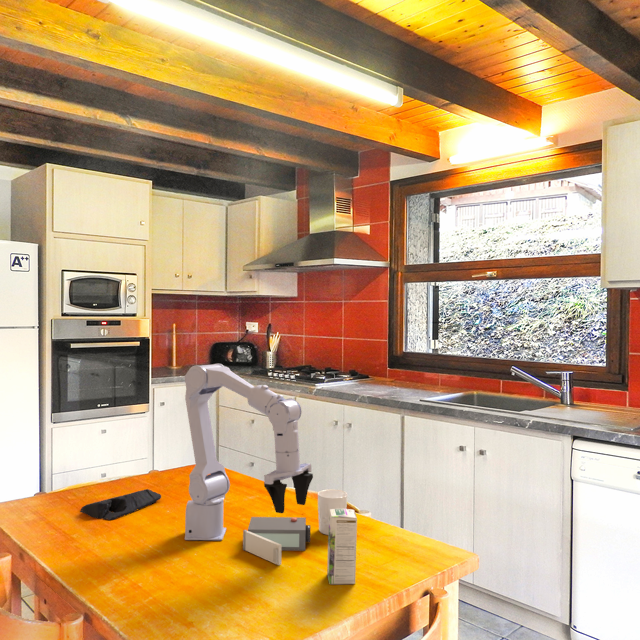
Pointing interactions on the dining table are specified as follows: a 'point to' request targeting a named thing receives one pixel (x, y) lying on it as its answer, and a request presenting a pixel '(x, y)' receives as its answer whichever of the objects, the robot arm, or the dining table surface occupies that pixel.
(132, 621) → the dining table surface
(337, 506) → the white cup
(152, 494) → the folded black cloth
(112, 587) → the dining table surface
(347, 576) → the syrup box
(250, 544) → the side door
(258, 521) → the camera housing
